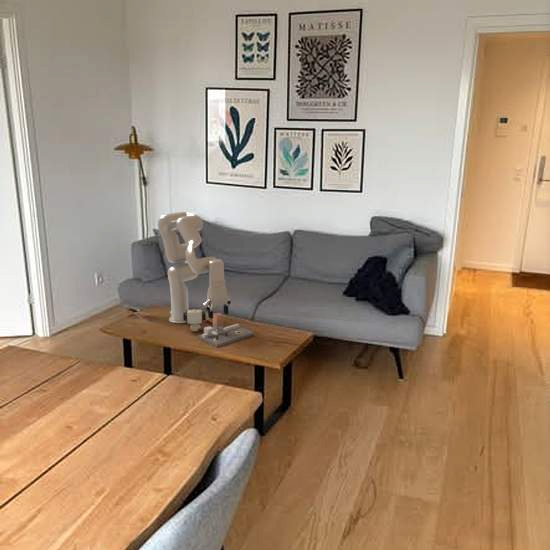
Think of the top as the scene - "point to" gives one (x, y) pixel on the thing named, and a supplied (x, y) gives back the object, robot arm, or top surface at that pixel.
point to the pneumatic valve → (194, 318)
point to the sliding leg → (218, 322)
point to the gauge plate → (224, 335)
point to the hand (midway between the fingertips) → (218, 315)
